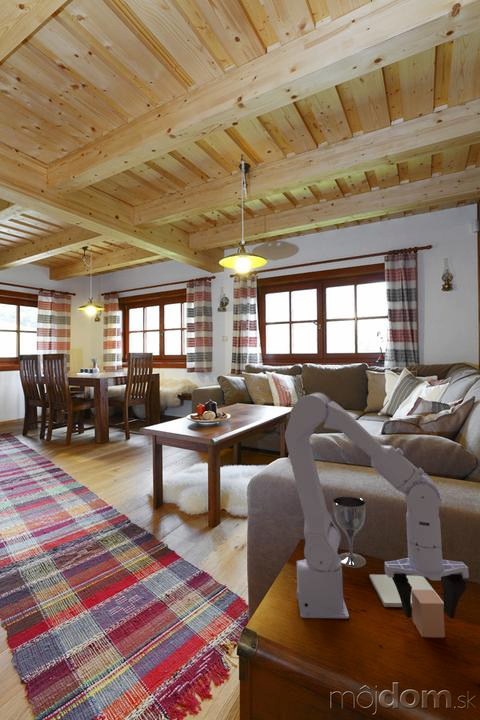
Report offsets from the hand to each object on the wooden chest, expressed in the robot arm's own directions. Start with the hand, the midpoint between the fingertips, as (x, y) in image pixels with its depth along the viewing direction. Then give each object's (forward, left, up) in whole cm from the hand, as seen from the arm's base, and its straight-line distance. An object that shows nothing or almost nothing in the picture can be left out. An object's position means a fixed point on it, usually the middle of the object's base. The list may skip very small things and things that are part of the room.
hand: (428, 614), depth 65 cm
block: (0, 0, -3) cm, 3 cm away
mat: (0, +11, -3) cm, 11 cm away
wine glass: (-8, +24, -3) cm, 25 cm away
